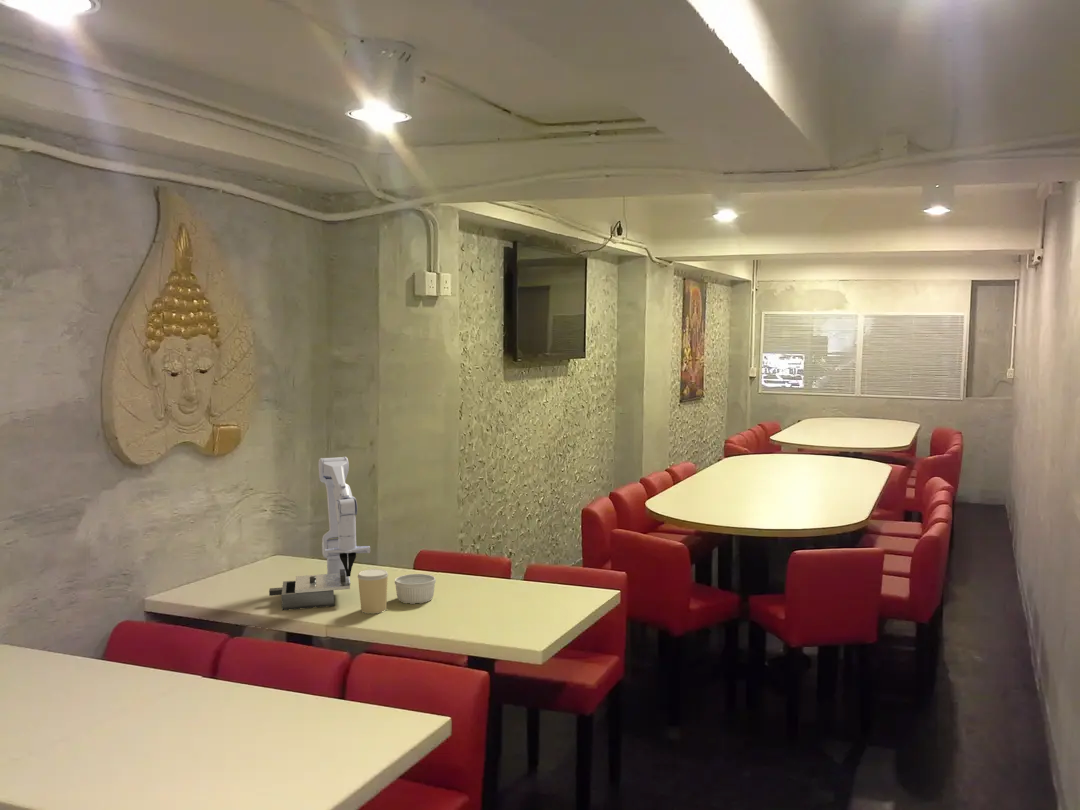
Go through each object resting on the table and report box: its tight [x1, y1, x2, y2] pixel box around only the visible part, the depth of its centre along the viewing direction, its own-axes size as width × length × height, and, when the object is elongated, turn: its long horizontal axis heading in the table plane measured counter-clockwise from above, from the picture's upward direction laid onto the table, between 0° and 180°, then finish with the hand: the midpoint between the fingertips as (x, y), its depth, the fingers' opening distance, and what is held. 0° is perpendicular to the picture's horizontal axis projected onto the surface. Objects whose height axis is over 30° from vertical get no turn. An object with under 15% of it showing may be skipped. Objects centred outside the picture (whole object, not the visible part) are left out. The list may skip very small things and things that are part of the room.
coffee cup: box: [357, 568, 389, 614], centre depth 274 cm, size 9×9×12 cm
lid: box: [295, 569, 351, 593], centre depth 285 cm, size 17×17×3 cm
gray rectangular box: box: [268, 580, 335, 611], centre depth 284 cm, size 16×20×5 cm
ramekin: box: [394, 573, 437, 605], centre depth 285 cm, size 13×13×7 cm
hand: (348, 575), depth 287 cm, fingers closed
